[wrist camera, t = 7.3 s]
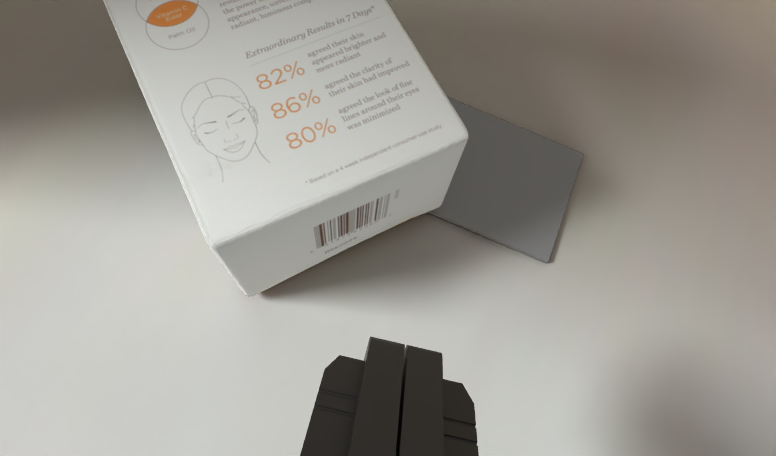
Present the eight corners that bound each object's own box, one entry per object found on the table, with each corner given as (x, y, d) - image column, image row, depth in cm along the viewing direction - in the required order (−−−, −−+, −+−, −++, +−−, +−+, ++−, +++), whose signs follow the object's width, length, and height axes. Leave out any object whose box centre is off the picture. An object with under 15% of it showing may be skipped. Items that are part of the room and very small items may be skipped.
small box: (446, 210, 21) (328, 3, 24) (475, 135, 16) (321, -116, 19) (243, 302, 20) (144, 68, 23) (203, 252, 14) (82, -44, 18)
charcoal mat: (281, 149, 22) (281, 147, 22) (335, 52, 24) (335, 50, 24) (546, 263, 22) (548, 261, 21) (581, 156, 23) (583, 153, 23)
